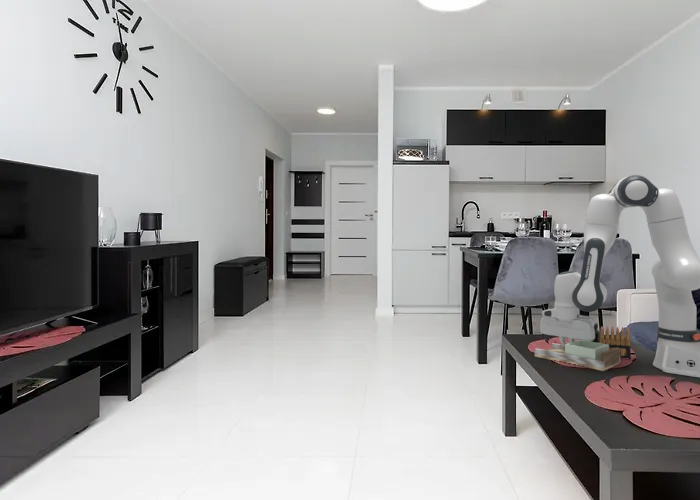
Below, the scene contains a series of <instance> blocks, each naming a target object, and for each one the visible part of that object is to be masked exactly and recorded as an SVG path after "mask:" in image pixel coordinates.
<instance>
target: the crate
mask: <svg viewBox="0 0 700 500" xmlns="http://www.w3.org/2000/svg"><path fill="white" fill-rule="evenodd" d="M569 342H570V341H569ZM569 342H568V343H566V344H565V354H567V355H572V356H577V357H582V358H587V359H592V360H597V361H602V353H603V352H606V351H608V350H609V345H608V344H602V343H596V342H590V341H583V340H577V339H576V340H575V341H574V342H570V343H569Z"/></svg>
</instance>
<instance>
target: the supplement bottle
mask: <svg viewBox="0 0 700 500" xmlns="http://www.w3.org/2000/svg"><path fill="white" fill-rule="evenodd" d="M594 330H595V339H594V340H593V341H590V342H596V343H600V330H599V323H598V322H594Z"/></svg>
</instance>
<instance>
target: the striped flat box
mask: <svg viewBox="0 0 700 500" xmlns="http://www.w3.org/2000/svg"><path fill="white" fill-rule="evenodd" d="M534 357H536V358H540V359H545V360H549V361H554V360H556V361H555V362H559V361H562V362H561V363H564V362H566V363H565V364H568V363H571V364H570V365H573V364H576V365H575V366H578V365H580V366H579V367H582V366H584V367H583V368H587V367H588V368H587V369H592V370H597V371H601V372H605V371H607V370H608V369H611V368H613V367H616V366H618V365H621V364H620V363H621V362H622V361H621V360H622V359H621V356H620V355H619V348H617V347H616V348H614V349H611V350H608V351H606V352H603V353H602V361H597V360H592V359H587V358H582V357H577V356H572V355H567V354H565V349H563V348H562V343H561V344H559V343H555V342H552V343H551V348H549V349H541V348H534Z"/></svg>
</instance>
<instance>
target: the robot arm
mask: <svg viewBox="0 0 700 500" xmlns="http://www.w3.org/2000/svg"><path fill="white" fill-rule="evenodd" d="M636 207H639V208H641V209H642V210H643V212H644V214H645V216H646V223H647V227H648V231H649V236H650V240H651V245H652V247H653V248H654V249H655V251H656V253H657V255H658V257H659V259H658V260H656V262H655V263H654V264H653V265H652V267H651V274H652V277H653V280H654V284H655V291H656V296H657V302H658V326H657V328H656V341H657V347H656V351H655V352H656V353H655V357H654V359H653V363H652V366H653V367H655V368H657V369H659V370H662V372H664V373H668V374H675V375H679V376H688V377H692V378H693V377H694V378H700V330H698V329H697V308H698V307H697V305H696V304H695V301H694V298H693V294H692V293H693V292H692V291H696V290H699V289H700V258H699V257H698V254H697V252H696V250H695V246H693V243H692V241H691V238H690V235H689V231H688V226H687V223H686V219H685V214H684V211H683V207H682V204H681V202H680V200H679V197H678V195H677V193H676V192H675V191H674V190H672V189H671V188H663V187H662V188H658V187H657V186H655V185H654V184H653V183H652V181H650V180H649V179H648V178H646V177H645V176H643V175H637V174H633V175H628V176H625V177H623V178H621V179H620V180H619V181H617V182H616V183H615V184H614V185H613V186H612V188H611V189H610V191H608V193H600V194H596V195H594V196H593V197H591V198H590V201H589V203H588V206H587V209H586V214H585V219H584V226H583V227H584V228H583V248H584V249H583V251H584V253H583V259H582V267H581V273H579V272H577V271H574V270H570V271H564V272H559V273H558V274H557V275H556V276H555V279H554V287H553V288H554V289H553V291H554V293H553V294H554V298H555V301H554V305H553V307H550V308H549V309H544V310H542V311H541V316H542V317H541V319H540V324H539V325H540V327H539V328H540V329H539V331H540V332H541V334H543V335H548V336H555V337H558V339H559V341H560V343H561V345H562V348H563V349H565V344H567V343H566V340H565V339H566V338H567V339H568V343H570V342H574V341H577V340H583V341H593V340H594V339H595V330H594V323H595V320H594V318H593V317H591V316H590V315H582V314H580V311H581V312H582V311H583V312H587V313H591V312H595V311H597V310H598V309H600V308H601V307H602V305H603V303H605V301H606V300H607V298H608V288H607V286H605V285H604V284H603V283H602V282H601V277H602V270H603V264H604V260H605V257H606V255H607V254H608V252H609V250H610V249H611V248H612V246H613V245H614V244H615V241H616V238H617V235H618V230H619V223H620V216H621V213H622V211H623V210H624V209H626V208H636Z"/></svg>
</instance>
